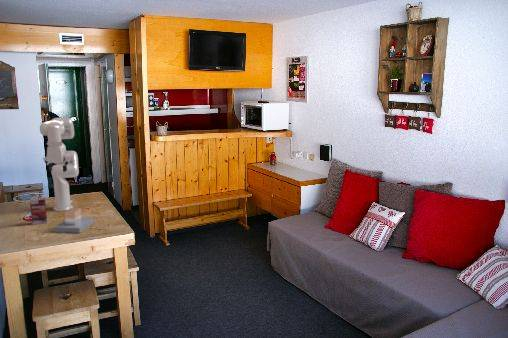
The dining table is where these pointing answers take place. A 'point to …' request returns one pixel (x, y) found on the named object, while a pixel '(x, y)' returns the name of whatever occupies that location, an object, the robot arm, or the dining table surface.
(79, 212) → the block
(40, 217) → the supplement box
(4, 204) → the dining table surface
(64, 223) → the stand
